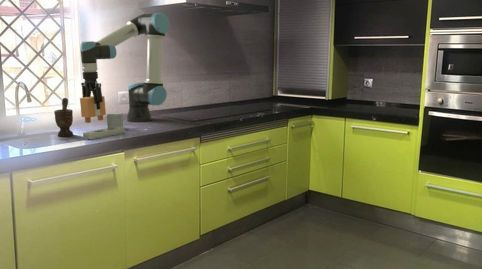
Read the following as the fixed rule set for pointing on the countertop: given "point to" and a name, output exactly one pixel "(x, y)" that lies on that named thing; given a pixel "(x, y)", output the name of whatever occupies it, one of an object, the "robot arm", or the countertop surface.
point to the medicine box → (114, 120)
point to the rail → (103, 132)
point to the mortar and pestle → (64, 119)
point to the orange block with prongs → (91, 108)
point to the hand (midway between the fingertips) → (93, 114)
